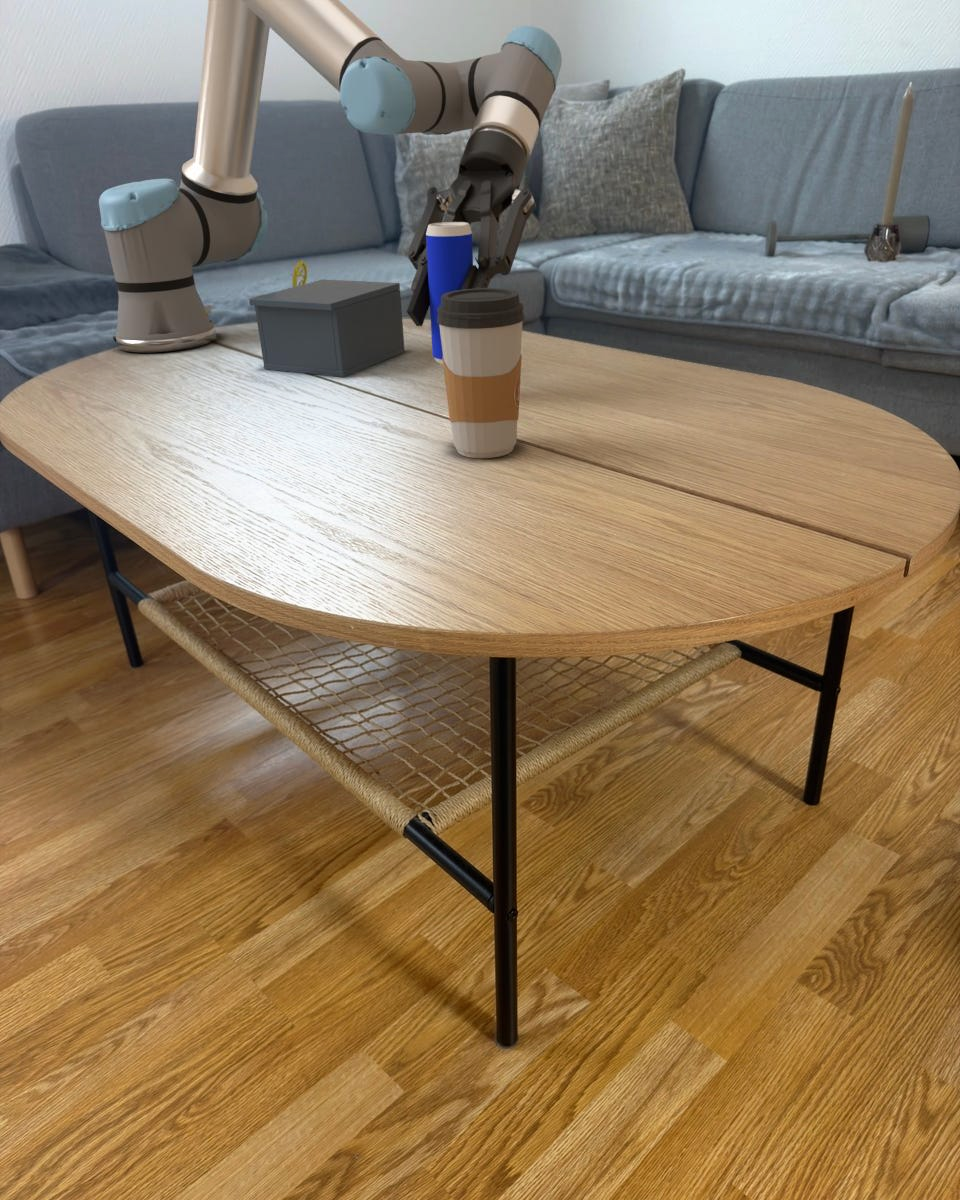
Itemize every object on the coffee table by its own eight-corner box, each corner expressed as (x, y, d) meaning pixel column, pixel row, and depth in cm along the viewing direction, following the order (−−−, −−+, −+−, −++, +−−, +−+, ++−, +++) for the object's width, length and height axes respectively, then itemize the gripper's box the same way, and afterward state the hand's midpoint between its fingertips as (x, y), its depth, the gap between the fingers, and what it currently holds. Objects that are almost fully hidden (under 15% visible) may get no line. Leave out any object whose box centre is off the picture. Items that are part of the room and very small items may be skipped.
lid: (331, 310, 111) (330, 303, 111) (249, 305, 117) (248, 298, 117) (400, 289, 124) (399, 282, 124) (323, 285, 130) (322, 279, 129)
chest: (343, 377, 116) (335, 309, 112) (264, 369, 122) (254, 304, 118) (404, 351, 128) (400, 289, 124) (330, 345, 134) (323, 285, 130)
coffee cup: (527, 461, 84) (525, 301, 77) (441, 463, 85) (432, 304, 78) (524, 434, 92) (523, 285, 85) (446, 436, 92) (438, 288, 85)
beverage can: (483, 356, 105) (479, 221, 97) (464, 367, 101) (459, 227, 93) (444, 353, 107) (438, 221, 99) (425, 363, 103) (417, 226, 95)
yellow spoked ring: (302, 362, 147) (261, 323, 139) (291, 360, 149) (250, 321, 141) (341, 300, 149) (304, 259, 141) (330, 299, 151) (292, 257, 143)
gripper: (577, 174, 103) (519, 345, 98) (443, 175, 110) (383, 334, 105) (560, 124, 96) (497, 305, 91) (419, 128, 103) (354, 295, 99)
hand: (436, 320), depth 98 cm, fingers closed on beverage can, 5 cm apart
